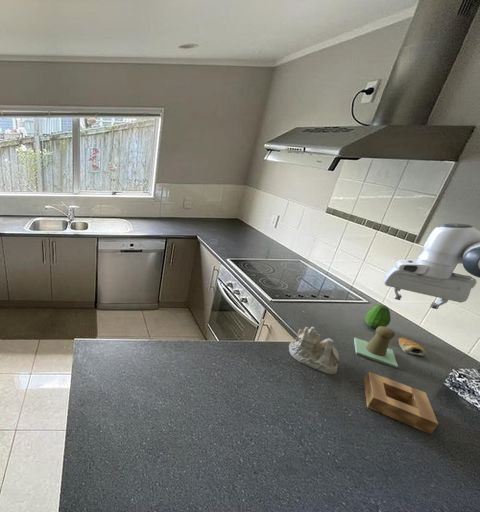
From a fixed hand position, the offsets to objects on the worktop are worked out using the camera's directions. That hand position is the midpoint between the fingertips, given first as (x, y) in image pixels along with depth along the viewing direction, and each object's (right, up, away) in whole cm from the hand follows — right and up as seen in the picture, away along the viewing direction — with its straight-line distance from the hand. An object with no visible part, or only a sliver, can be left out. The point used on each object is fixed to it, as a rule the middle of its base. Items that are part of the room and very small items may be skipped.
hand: (414, 303), depth 102 cm
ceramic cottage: (-31, -23, +8) cm, 39 cm away
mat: (-3, -22, +12) cm, 25 cm away
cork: (-3, -22, +12) cm, 25 cm away
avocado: (+13, -16, +29) cm, 36 cm away
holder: (-20, -31, -11) cm, 39 cm away
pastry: (+15, -22, +15) cm, 30 cm away
